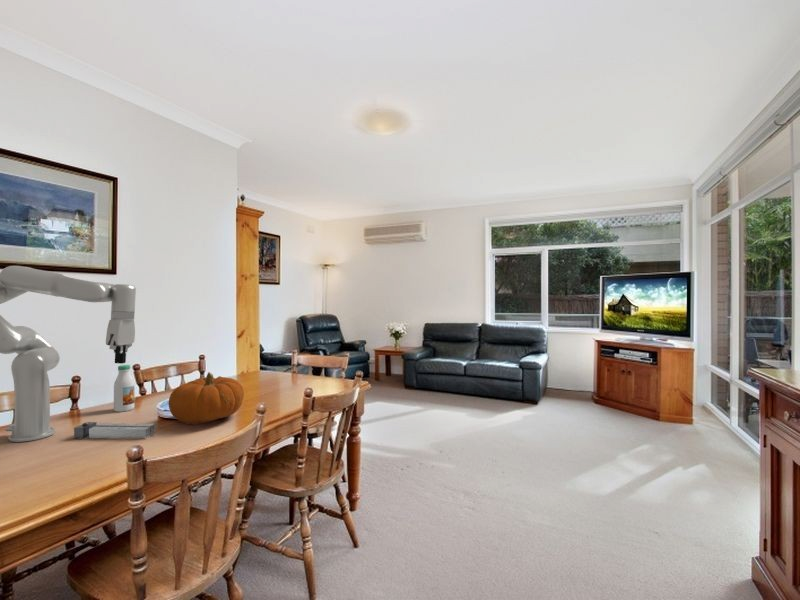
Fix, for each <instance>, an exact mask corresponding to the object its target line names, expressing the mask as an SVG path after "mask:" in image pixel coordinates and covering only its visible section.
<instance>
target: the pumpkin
mask: <svg viewBox="0 0 800 600" xmlns="http://www.w3.org/2000/svg"><path fill="white" fill-rule="evenodd" d="M206 374H207V375H206V377H204V378H196V379H194V380H191V381H188V382H187V383H183V384H180V385H179V386H177V387H175V388H174V389H173V390H172V392H171V393H170V395H169V398H168V409H169V412H170V413H171V415H172V417H173V418H175V419H176V420H177V421H178V422H180V423H183V424H188V425H199V424H206V423H209V422H212V421H215V420H219V419H224V418H228V417H230V416H232V415H234V414H235V413H237V412H238V410H239V409H241V406H242V404H243V400H244V397H245V389H244V387H243V385H242V384H241V383H240V382H239V380H237V379H234V378H233V377H226V376H224V377H223V376H217V377H216V378H215V377H214V375H213V373H211V372H210V371H208V372H207V373H206Z"/></svg>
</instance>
